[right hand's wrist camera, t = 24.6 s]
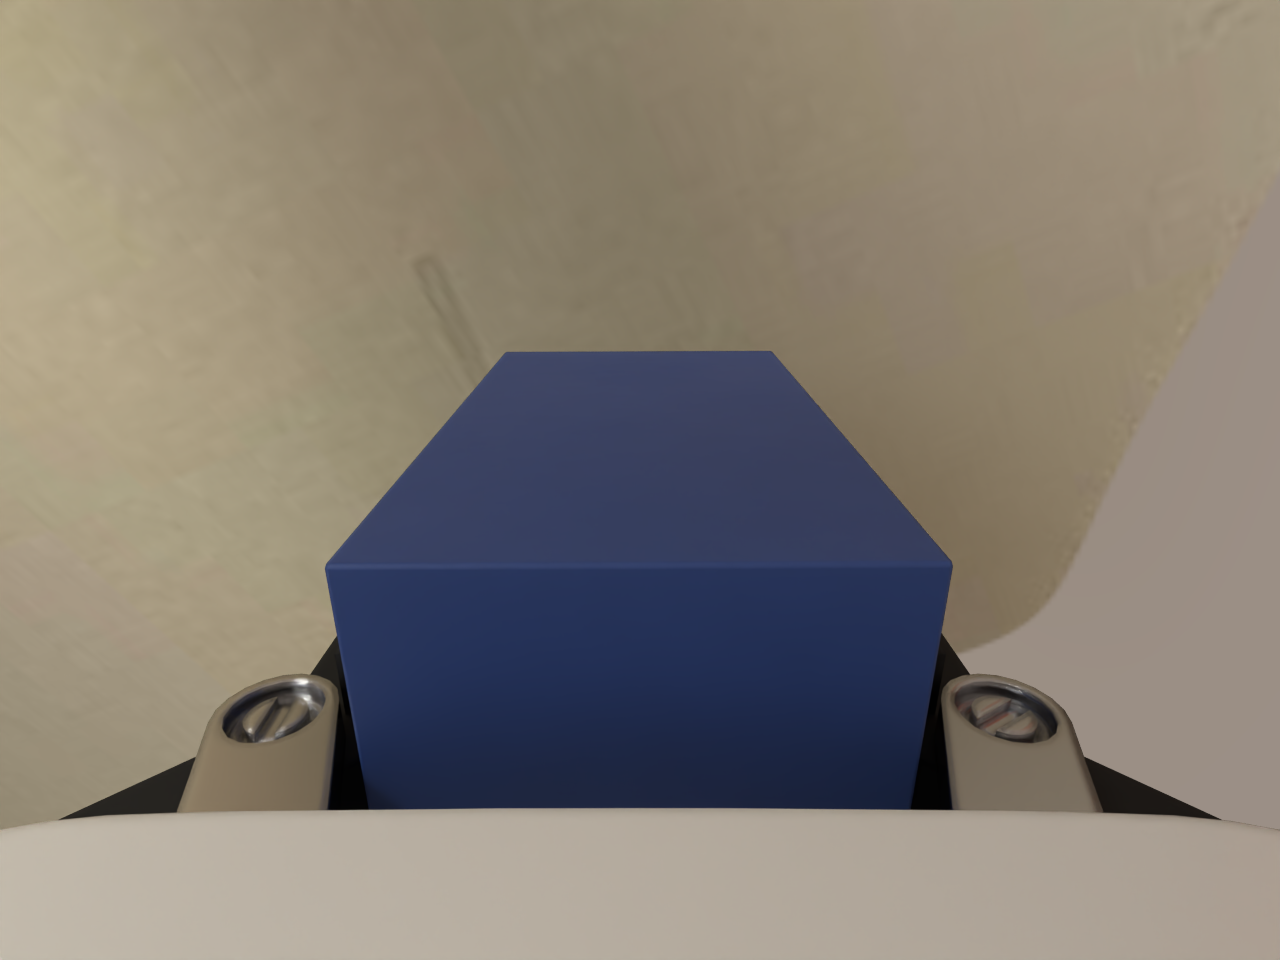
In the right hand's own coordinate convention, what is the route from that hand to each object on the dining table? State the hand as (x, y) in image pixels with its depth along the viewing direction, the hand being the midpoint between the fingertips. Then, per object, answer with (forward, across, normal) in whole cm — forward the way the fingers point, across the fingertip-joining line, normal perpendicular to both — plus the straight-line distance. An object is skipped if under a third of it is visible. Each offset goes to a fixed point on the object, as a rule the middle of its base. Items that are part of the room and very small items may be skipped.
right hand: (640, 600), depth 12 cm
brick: (+4, 0, 0) cm, 4 cm away
